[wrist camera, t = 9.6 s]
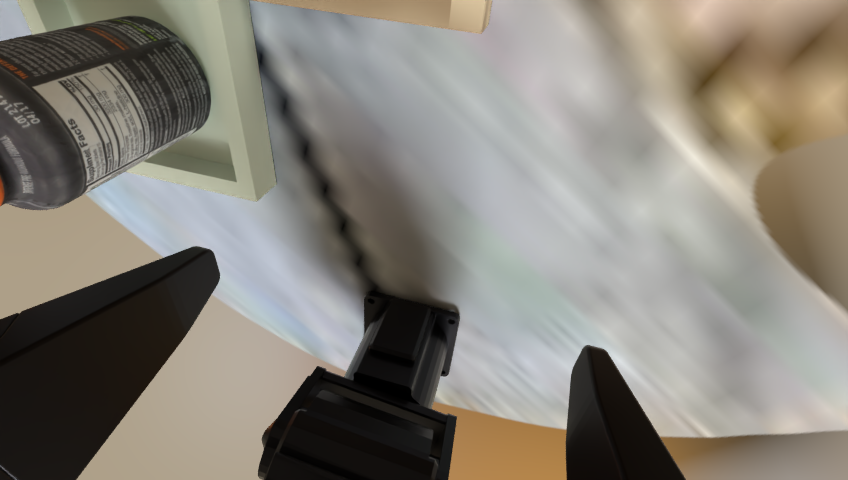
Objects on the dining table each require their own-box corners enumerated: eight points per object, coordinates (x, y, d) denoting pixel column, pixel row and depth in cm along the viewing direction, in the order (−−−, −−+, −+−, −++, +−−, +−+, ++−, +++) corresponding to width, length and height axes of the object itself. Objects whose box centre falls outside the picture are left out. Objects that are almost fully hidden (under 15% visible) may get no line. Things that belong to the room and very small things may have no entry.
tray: (276, 184, 25) (256, 201, 23) (119, 149, 26) (90, 163, 25) (242, -37, 18) (211, -34, 16) (35, -64, 20) (-12, -64, 18)
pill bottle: (103, 82, 23) (-182, 174, 14) (121, -16, 19) (-245, 26, 11) (198, 153, 24) (-10, 279, 15) (230, 73, 21) (-16, 177, 12)
